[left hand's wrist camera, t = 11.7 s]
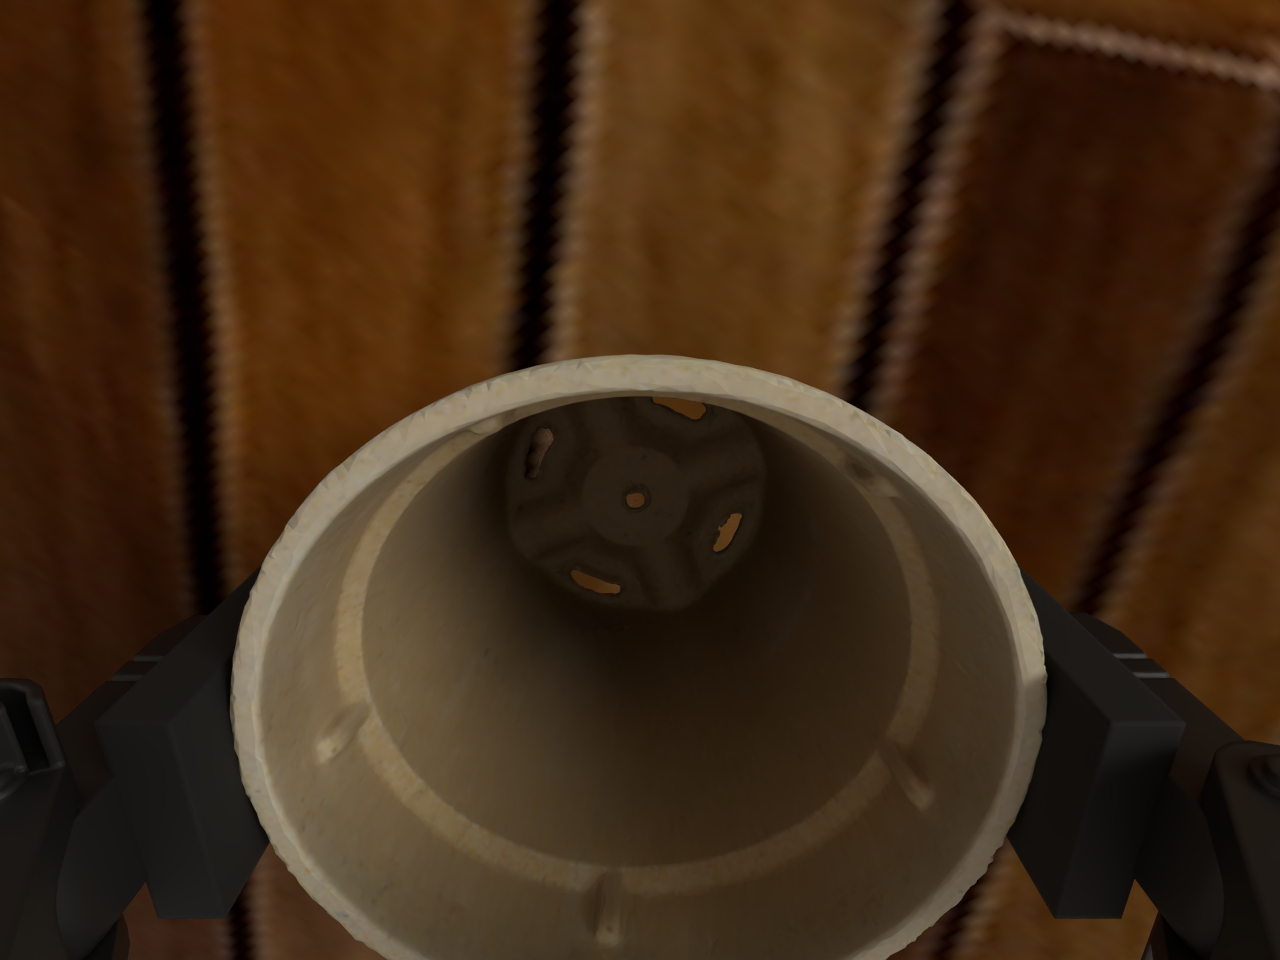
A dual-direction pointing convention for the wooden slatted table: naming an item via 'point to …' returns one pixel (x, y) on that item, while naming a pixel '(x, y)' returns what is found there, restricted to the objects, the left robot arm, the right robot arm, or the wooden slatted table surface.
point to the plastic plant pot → (638, 676)
